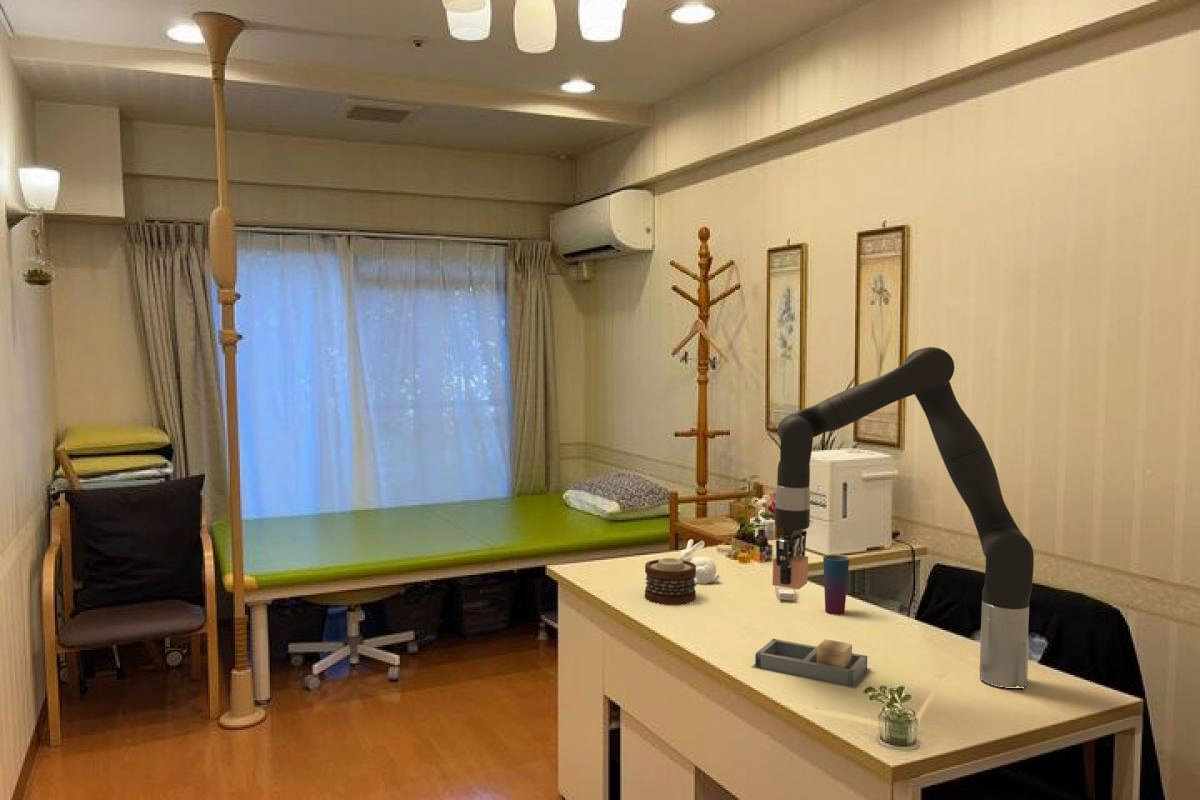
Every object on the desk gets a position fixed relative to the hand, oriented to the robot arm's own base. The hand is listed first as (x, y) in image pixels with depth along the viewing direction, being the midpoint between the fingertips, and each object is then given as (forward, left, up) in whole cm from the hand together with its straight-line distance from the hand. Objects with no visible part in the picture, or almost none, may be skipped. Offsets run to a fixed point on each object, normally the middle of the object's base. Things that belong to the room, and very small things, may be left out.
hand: (790, 580), depth 199 cm
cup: (+3, -47, -20) cm, 51 cm away
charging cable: (+23, -63, -20) cm, 70 cm away
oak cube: (-10, 0, -19) cm, 22 cm away
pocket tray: (-5, 0, -20) cm, 21 cm away
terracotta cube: (0, 0, -1) cm, 1 cm away
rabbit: (+48, -56, -20) cm, 76 cm away
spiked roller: (+47, -36, -20) cm, 62 cm away
